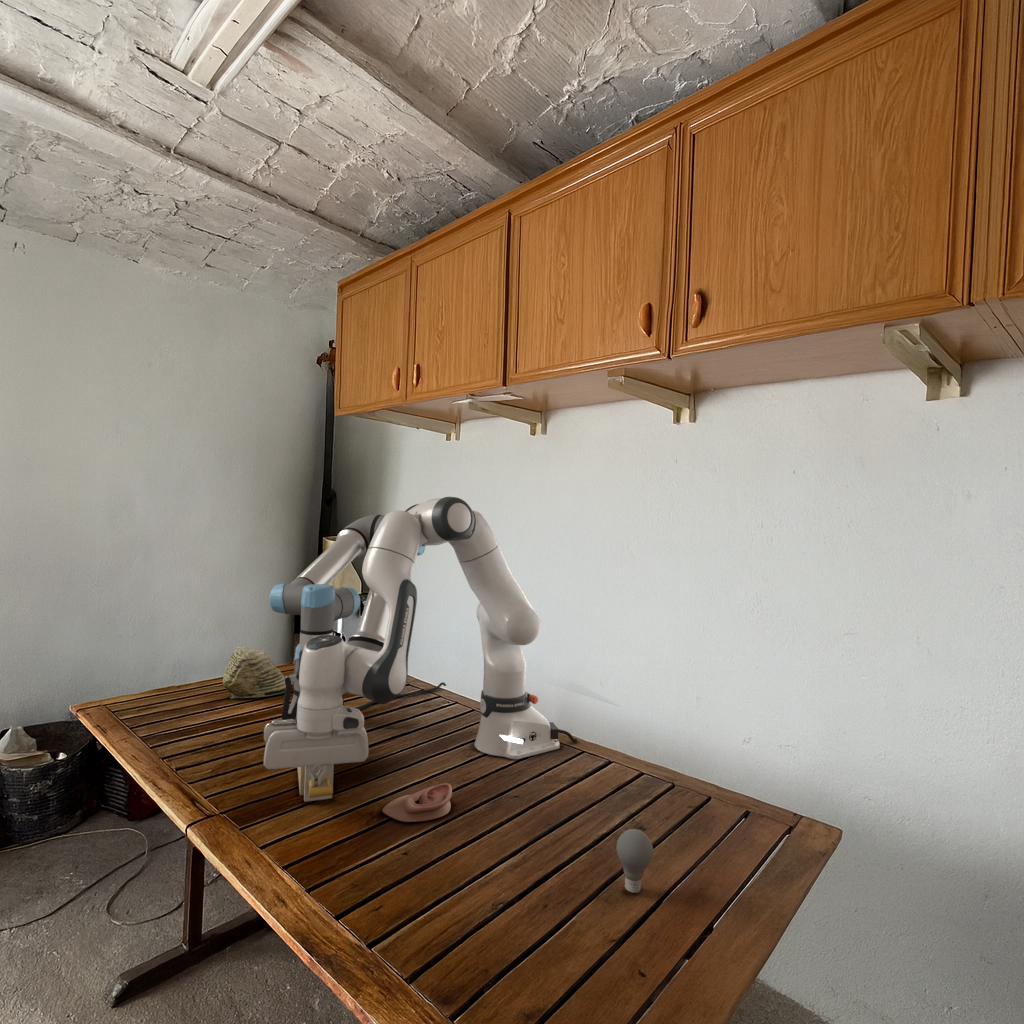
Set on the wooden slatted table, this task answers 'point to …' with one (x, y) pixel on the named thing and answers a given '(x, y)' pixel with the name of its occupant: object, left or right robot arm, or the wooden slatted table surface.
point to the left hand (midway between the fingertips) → (311, 746)
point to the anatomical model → (421, 804)
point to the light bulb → (634, 857)
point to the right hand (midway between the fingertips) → (315, 785)
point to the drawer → (320, 791)
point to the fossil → (252, 674)
